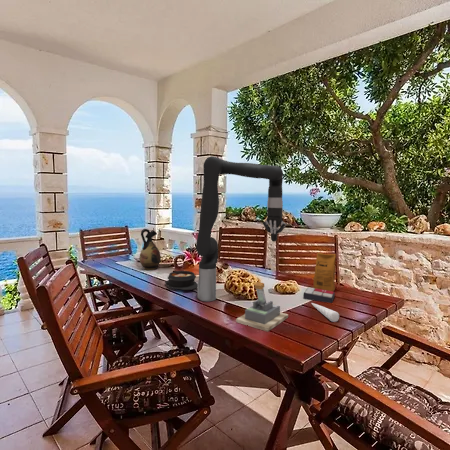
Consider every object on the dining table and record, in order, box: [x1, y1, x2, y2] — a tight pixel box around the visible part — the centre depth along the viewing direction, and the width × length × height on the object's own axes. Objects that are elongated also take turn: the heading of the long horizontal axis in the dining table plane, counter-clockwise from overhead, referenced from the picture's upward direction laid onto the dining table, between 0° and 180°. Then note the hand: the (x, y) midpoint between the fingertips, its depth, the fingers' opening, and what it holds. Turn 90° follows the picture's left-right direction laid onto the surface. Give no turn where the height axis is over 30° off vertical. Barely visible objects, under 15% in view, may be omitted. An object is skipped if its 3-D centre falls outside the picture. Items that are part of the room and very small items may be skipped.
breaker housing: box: [244, 299, 281, 324], centre depth 146 cm, size 14×10×7 cm
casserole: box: [164, 270, 198, 291], centre depth 195 cm, size 25×19×8 cm
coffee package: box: [312, 252, 337, 292], centre depth 191 cm, size 10×12×22 cm
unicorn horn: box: [311, 302, 340, 323], centre depth 157 cm, size 5×24×5 cm, turn 7°
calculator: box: [302, 287, 336, 304], centre depth 178 cm, size 11×4×15 cm
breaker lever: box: [254, 281, 267, 307], centre depth 144 cm, size 3×4×12 cm
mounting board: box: [235, 311, 289, 333], centre depth 147 cm, size 19×16×2 cm
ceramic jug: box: [139, 228, 162, 271], centre depth 239 cm, size 17×15×30 cm
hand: (274, 241), depth 163 cm, fingers closed
